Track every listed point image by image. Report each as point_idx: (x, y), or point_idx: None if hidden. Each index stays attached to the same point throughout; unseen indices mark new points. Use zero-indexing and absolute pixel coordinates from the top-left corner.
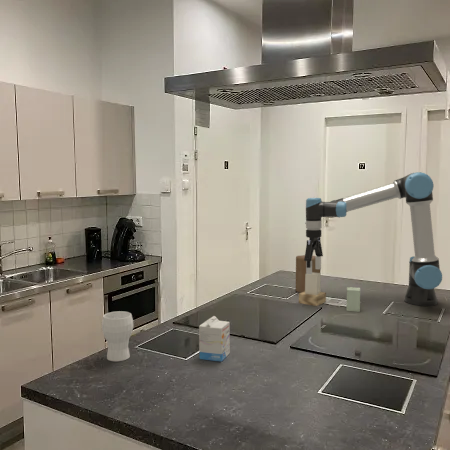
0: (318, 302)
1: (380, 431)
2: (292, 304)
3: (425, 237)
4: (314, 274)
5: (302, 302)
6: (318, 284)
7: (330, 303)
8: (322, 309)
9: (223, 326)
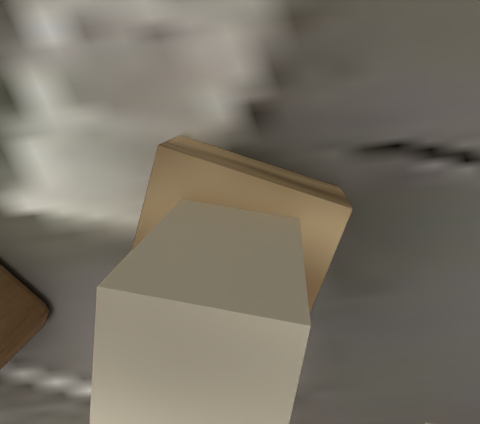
0: (315, 184)
1: None
2: (342, 360)
3: None
4: (254, 371)
5: None
6: (239, 244)
7: (218, 89)
8: (433, 130)
9: None
